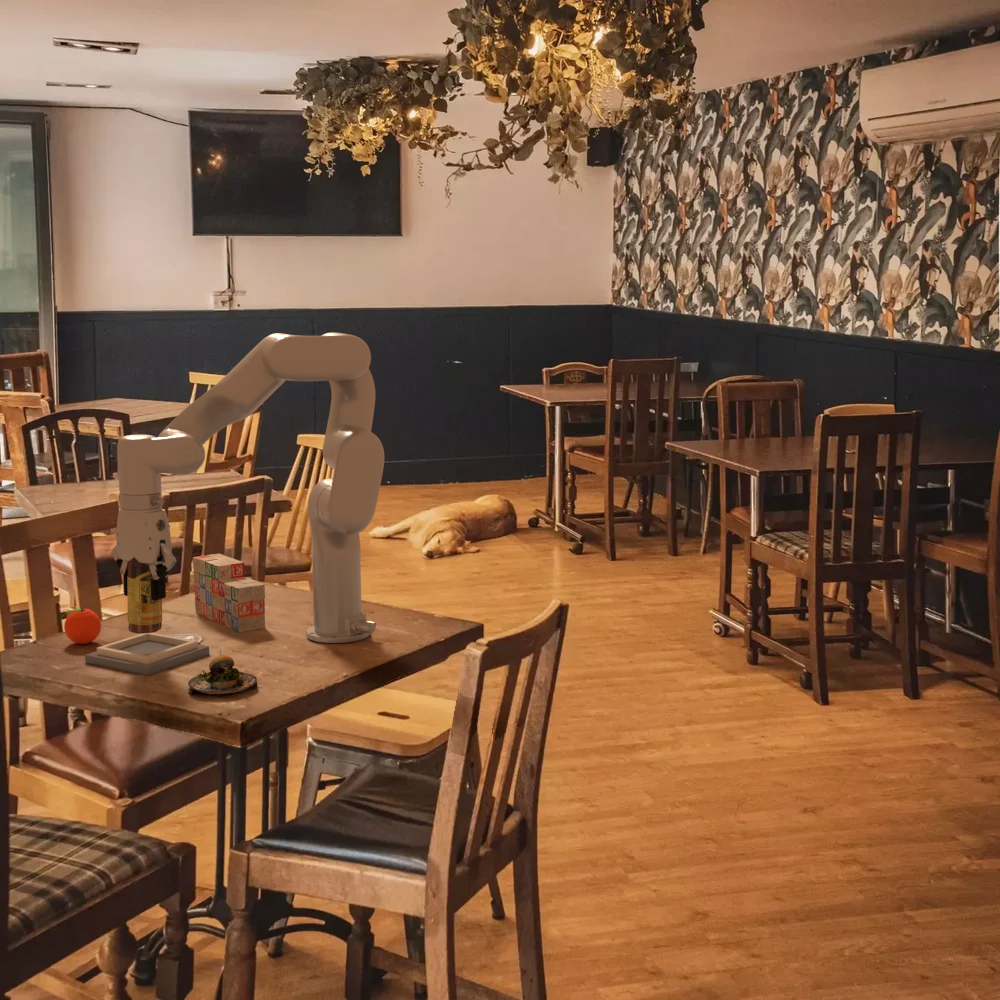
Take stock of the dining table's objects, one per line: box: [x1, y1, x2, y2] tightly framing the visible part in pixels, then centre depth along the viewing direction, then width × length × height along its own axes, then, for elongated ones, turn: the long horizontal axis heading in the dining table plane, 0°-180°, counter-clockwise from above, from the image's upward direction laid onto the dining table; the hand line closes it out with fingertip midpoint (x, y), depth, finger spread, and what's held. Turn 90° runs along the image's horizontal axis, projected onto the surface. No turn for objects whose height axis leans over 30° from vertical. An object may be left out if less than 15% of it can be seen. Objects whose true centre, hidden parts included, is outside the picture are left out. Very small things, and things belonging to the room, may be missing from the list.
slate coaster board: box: [84, 632, 210, 676], centre depth 256 cm, size 16×16×3 cm
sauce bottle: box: [127, 557, 163, 635], centre depth 253 cm, size 7×6×20 cm
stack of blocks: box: [192, 553, 266, 633], centre depth 283 cm, size 21×6×12 cm, turn 36°
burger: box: [187, 651, 258, 696], centre depth 237 cm, size 12×12×8 cm
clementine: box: [60, 607, 102, 645], centre depth 266 cm, size 8×7×7 cm
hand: (144, 595), depth 254 cm, fingers closed on sauce bottle, 6 cm apart
